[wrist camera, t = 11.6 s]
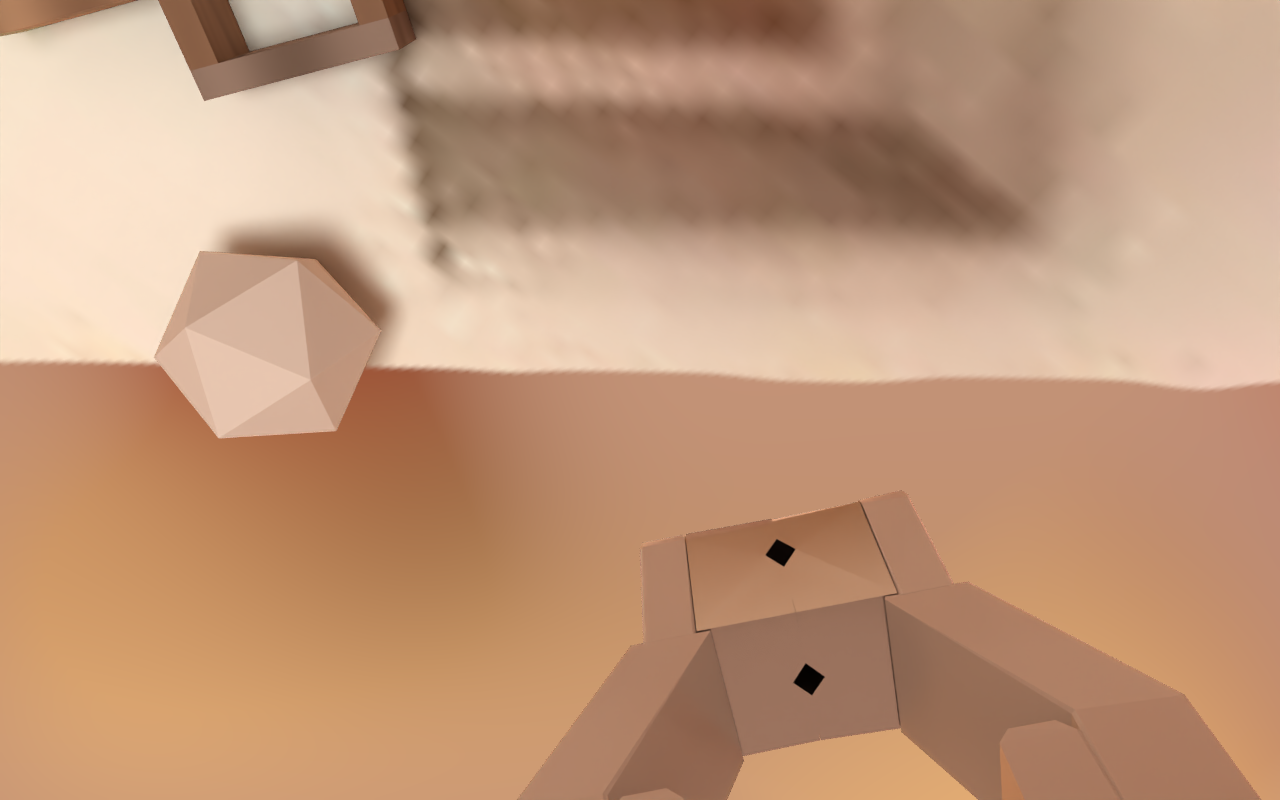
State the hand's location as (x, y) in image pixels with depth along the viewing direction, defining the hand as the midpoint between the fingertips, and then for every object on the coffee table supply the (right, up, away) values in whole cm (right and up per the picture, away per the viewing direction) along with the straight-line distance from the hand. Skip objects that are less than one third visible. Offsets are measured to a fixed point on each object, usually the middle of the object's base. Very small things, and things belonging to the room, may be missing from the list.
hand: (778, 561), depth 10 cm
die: (-19, +6, +35) cm, 40 cm away
